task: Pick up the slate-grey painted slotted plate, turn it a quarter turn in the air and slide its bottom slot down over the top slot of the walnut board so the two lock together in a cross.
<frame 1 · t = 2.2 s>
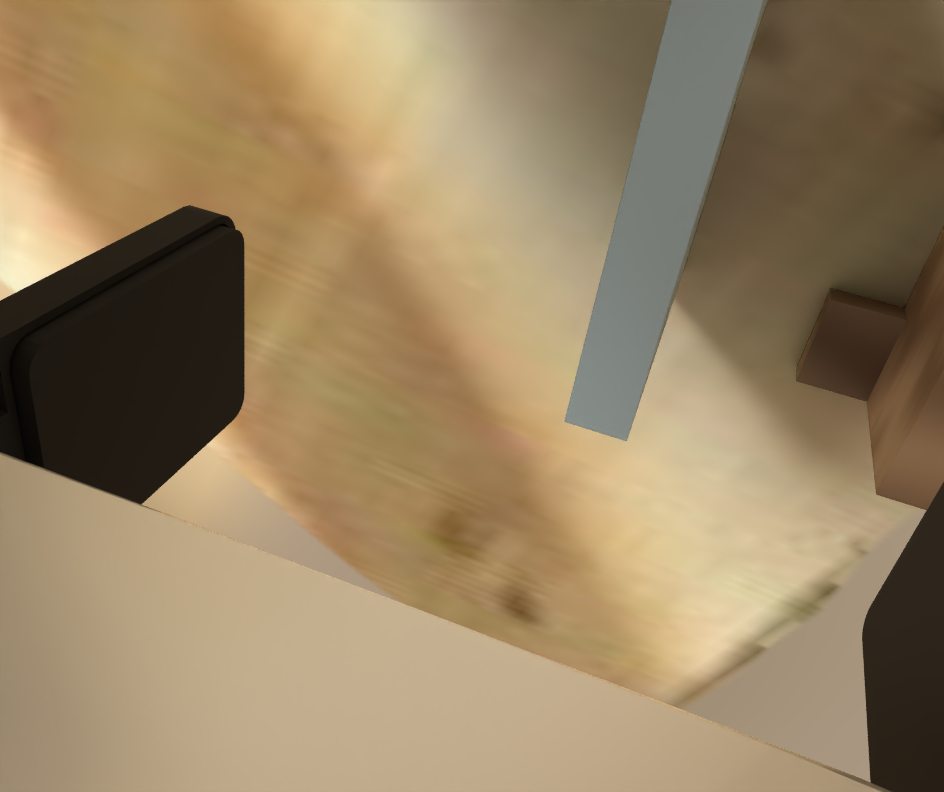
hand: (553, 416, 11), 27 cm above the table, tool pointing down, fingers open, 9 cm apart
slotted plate: (723, 53, 33), on the table
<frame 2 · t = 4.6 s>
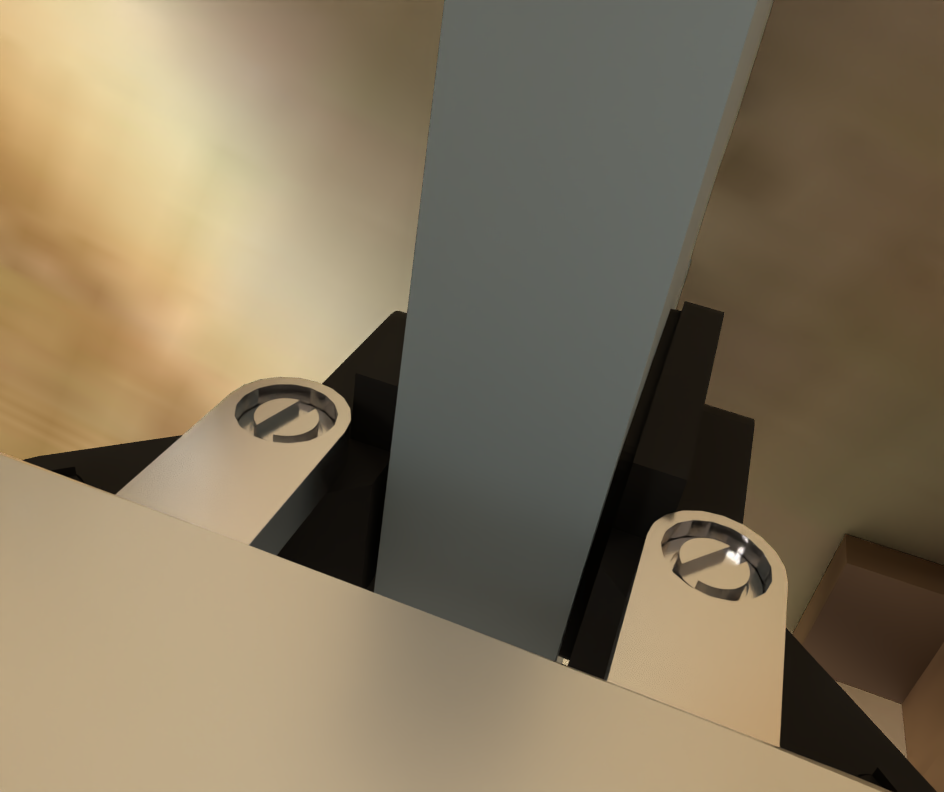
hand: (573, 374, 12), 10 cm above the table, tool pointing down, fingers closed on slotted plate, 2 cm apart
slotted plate: (670, 181, 20), on the table, touching gripper
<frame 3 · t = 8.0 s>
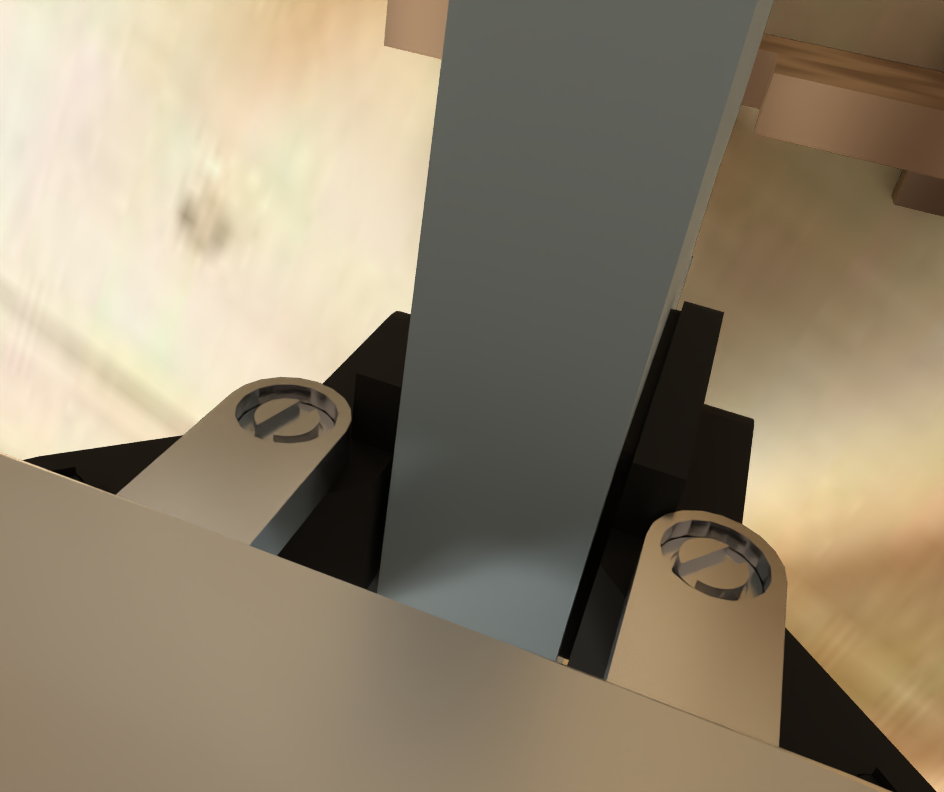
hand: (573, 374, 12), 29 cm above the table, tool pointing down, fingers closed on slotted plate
slotted board: (731, 54, 35), on the table
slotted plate: (671, 177, 20), point 19 cm above the table, touching gripper
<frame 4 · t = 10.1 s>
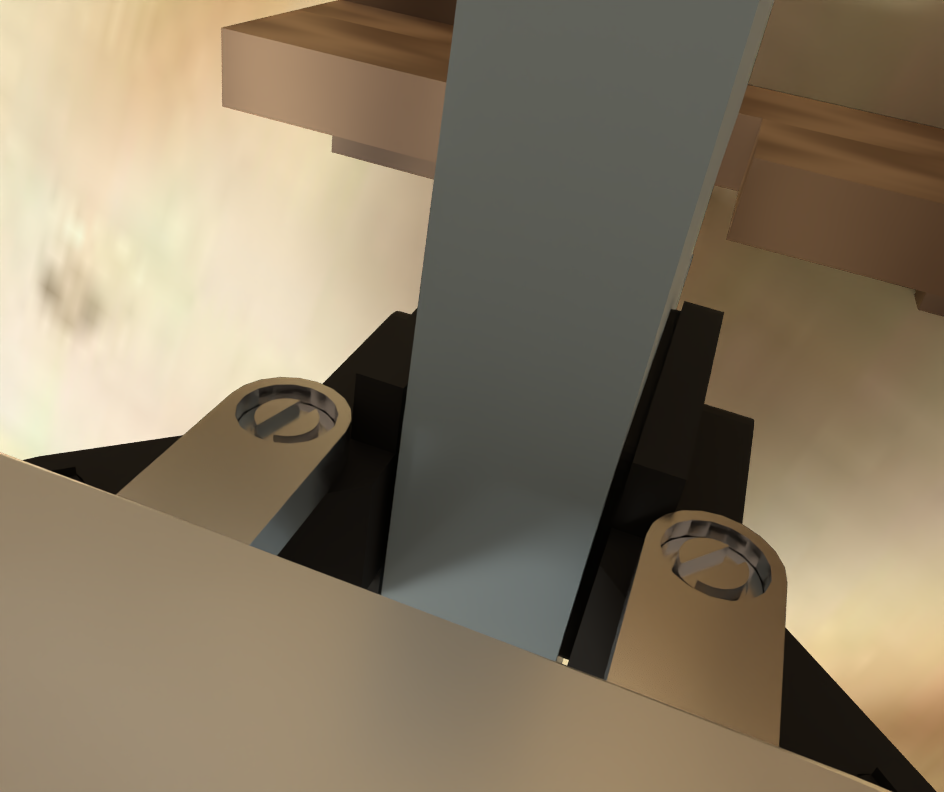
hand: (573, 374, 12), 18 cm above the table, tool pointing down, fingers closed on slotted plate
slotted board: (703, 109, 27), on the table
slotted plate: (672, 176, 20), point 8 cm above the table, touching gripper
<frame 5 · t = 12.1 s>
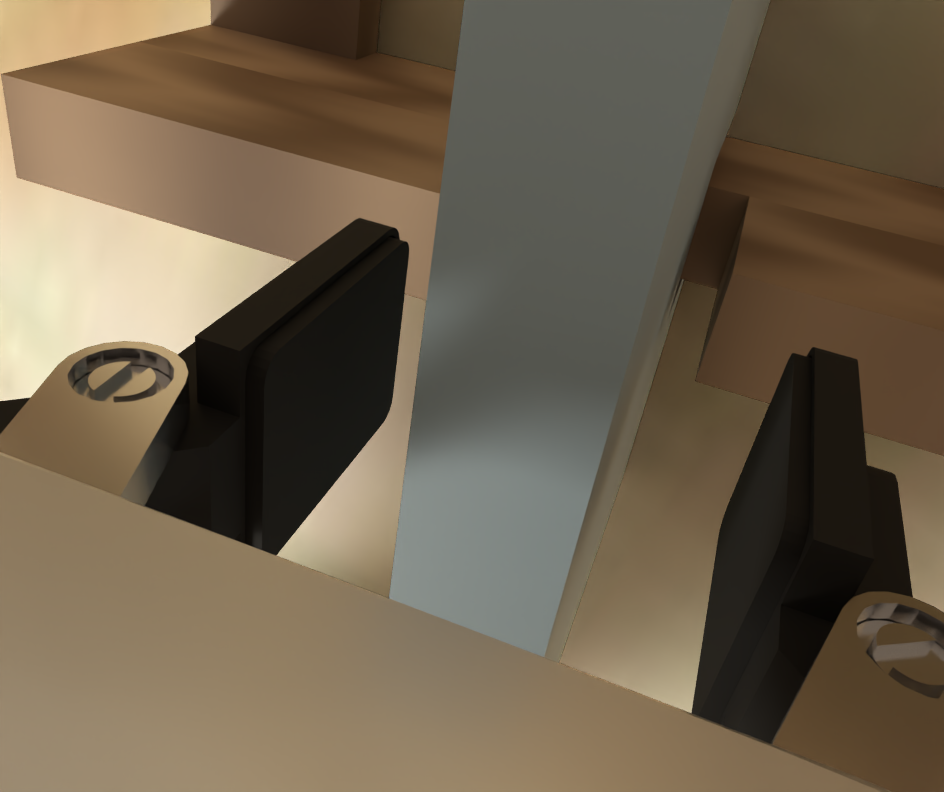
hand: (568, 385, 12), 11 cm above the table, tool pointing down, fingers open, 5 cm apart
slotted board: (676, 168, 21), on the table
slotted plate: (673, 171, 21), on the table
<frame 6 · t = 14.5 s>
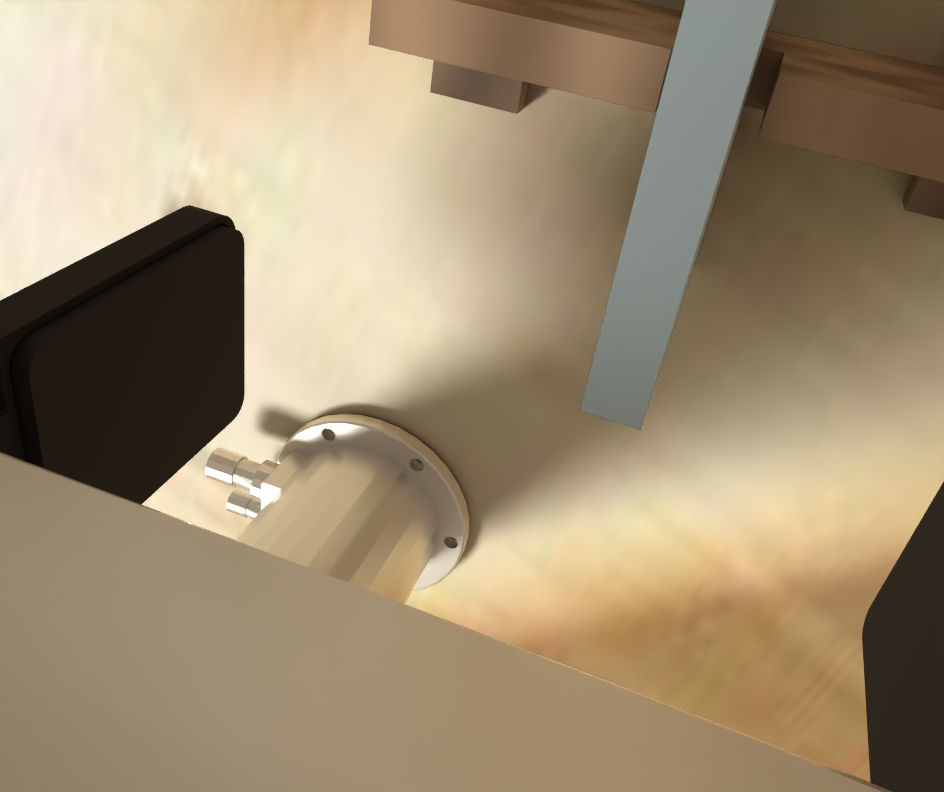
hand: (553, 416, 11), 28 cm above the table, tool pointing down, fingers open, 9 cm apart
slotted board: (735, 52, 34), on the table
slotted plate: (733, 54, 34), on the table
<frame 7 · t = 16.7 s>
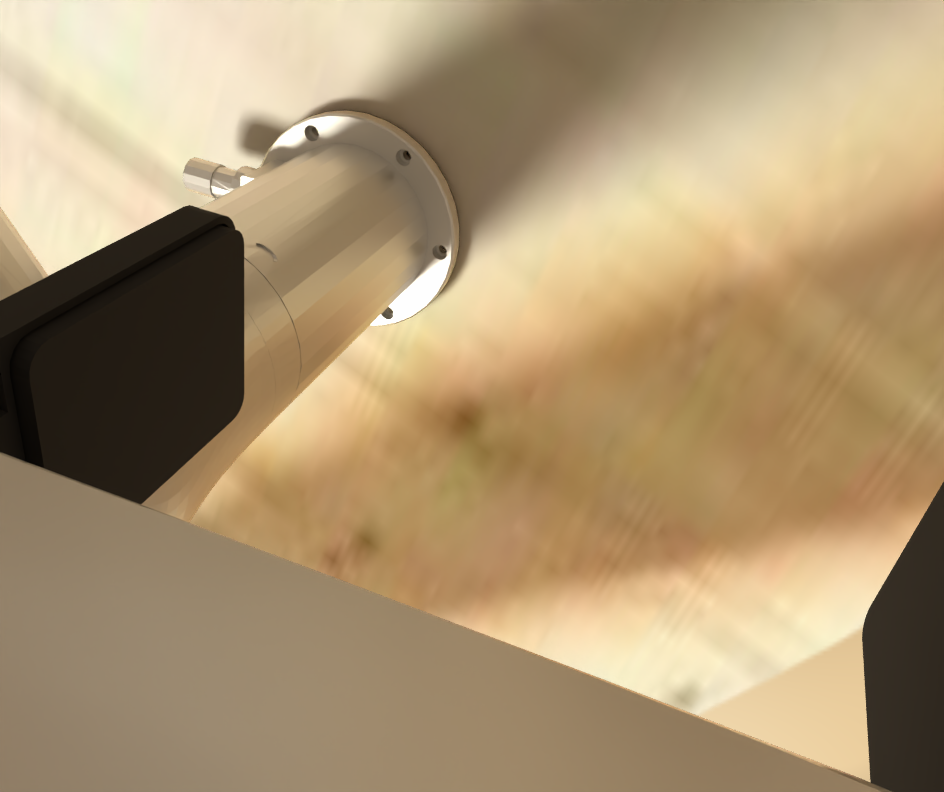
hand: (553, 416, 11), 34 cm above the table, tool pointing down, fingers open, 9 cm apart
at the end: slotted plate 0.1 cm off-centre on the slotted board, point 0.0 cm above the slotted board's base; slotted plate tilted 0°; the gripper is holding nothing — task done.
